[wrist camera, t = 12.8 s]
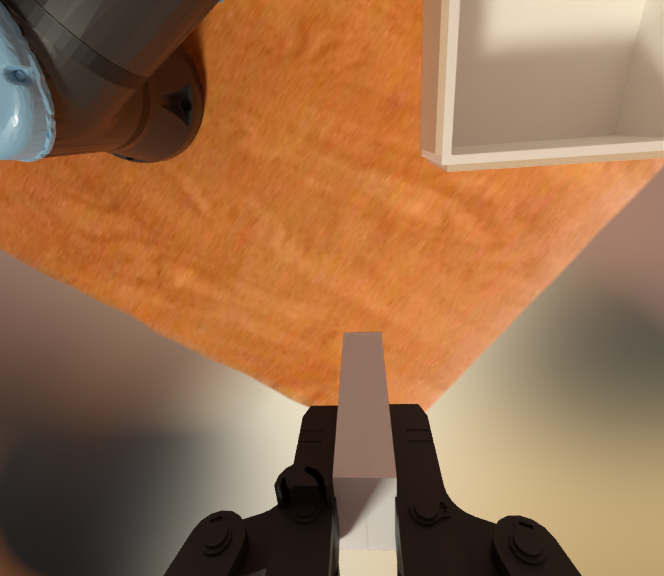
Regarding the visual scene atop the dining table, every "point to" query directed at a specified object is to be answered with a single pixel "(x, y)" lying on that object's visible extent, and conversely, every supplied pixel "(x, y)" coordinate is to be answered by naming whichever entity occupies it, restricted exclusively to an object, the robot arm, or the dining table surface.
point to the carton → (541, 82)
